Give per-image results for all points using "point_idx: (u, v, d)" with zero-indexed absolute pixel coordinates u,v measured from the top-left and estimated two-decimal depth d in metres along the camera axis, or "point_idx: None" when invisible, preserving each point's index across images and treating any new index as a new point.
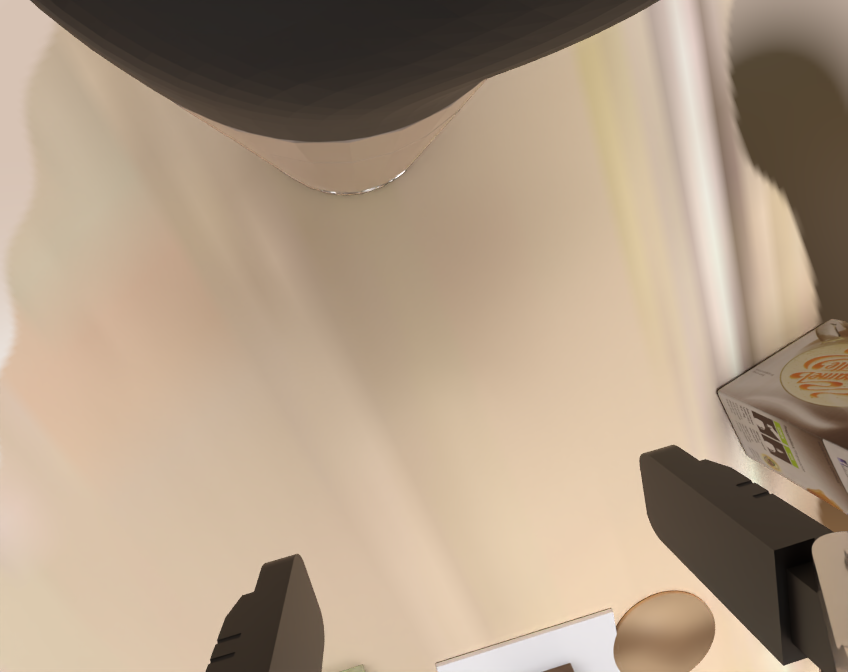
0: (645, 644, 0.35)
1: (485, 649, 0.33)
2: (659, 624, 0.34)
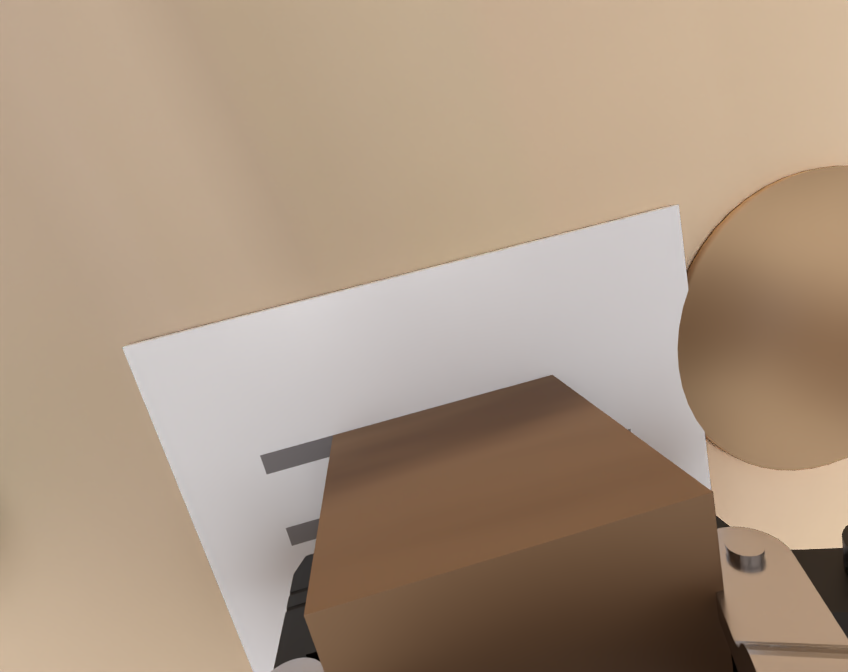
0: (769, 336, 0.12)
1: (286, 304, 0.11)
2: (810, 270, 0.12)
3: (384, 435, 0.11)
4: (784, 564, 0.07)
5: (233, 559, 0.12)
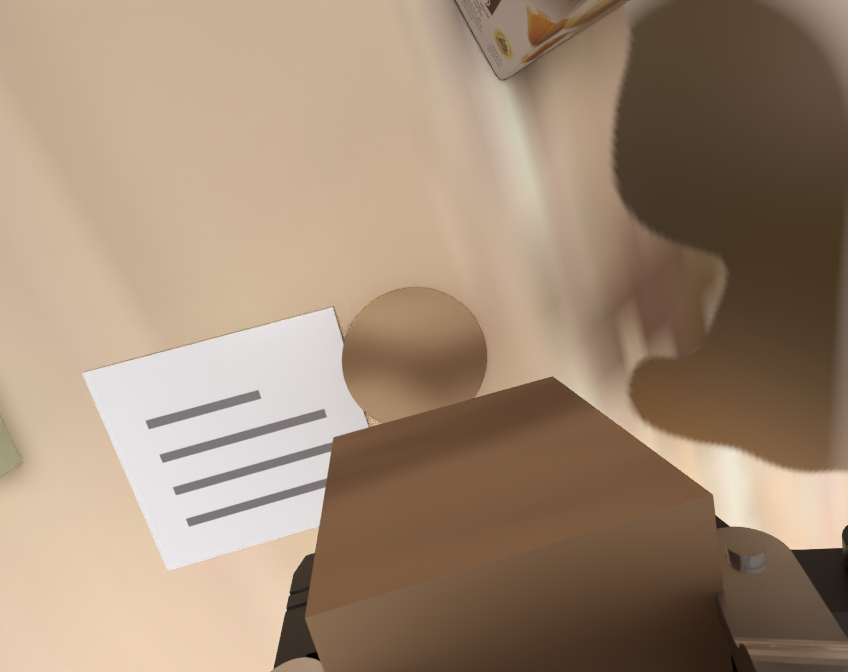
0: (388, 365, 0.26)
1: None
2: (404, 334, 0.26)
3: (385, 437, 0.11)
4: (784, 564, 0.07)
5: (135, 469, 0.25)
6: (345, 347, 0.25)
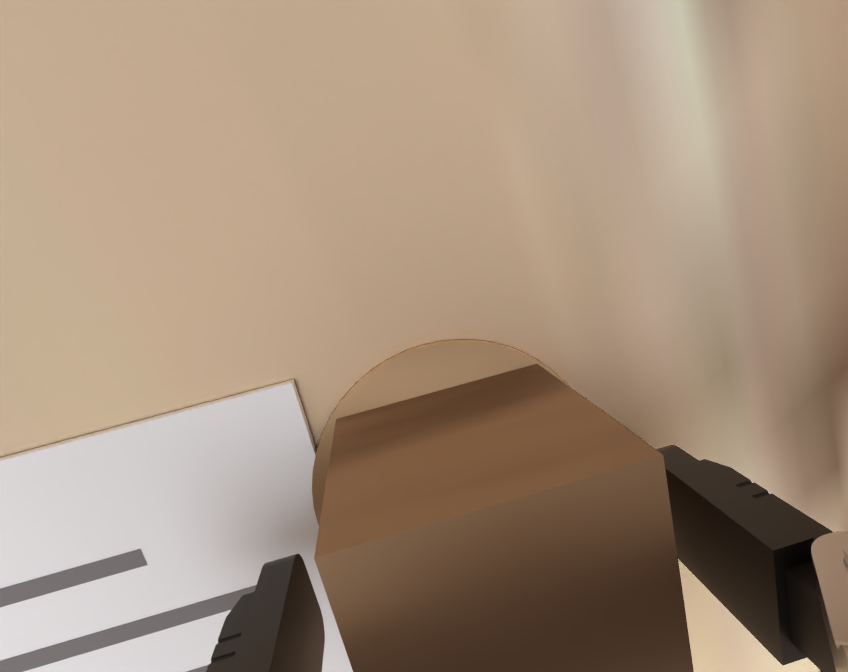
0: None
1: None
2: None
3: (383, 417, 0.12)
4: None
5: None
6: (319, 461, 0.12)
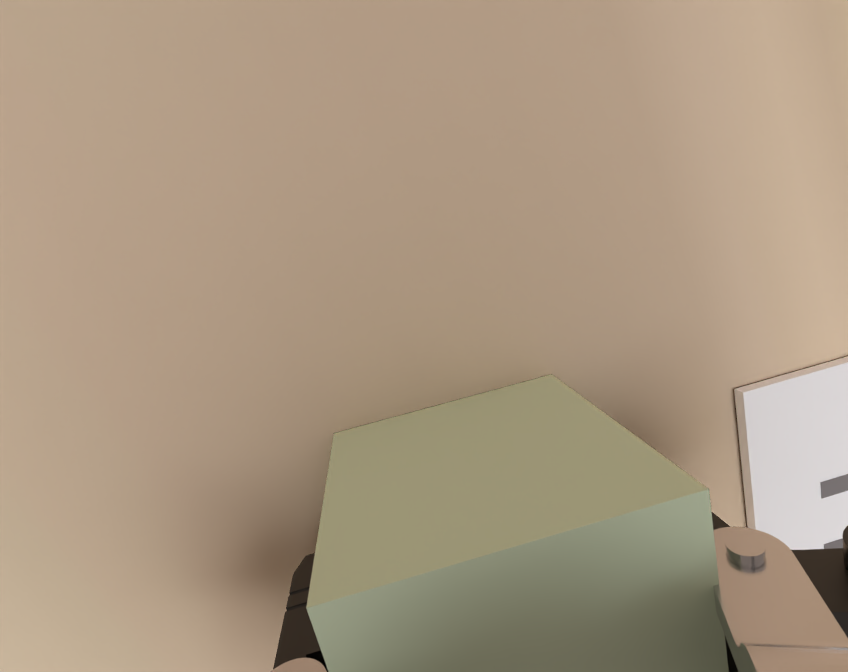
0: None
1: None
2: None
3: None
4: (784, 564, 0.07)
5: None
6: None
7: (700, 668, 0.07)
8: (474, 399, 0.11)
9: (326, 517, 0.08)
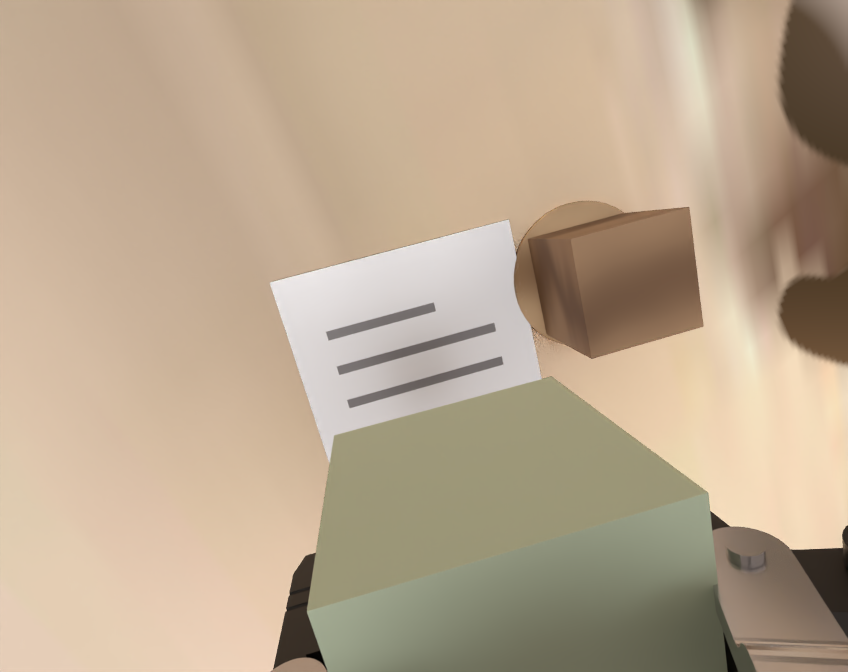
0: None
1: (337, 264, 0.25)
2: None
3: (554, 232, 0.25)
4: (784, 564, 0.07)
5: (313, 380, 0.26)
6: (518, 260, 0.26)
7: None
8: (473, 400, 0.11)
9: (326, 520, 0.08)
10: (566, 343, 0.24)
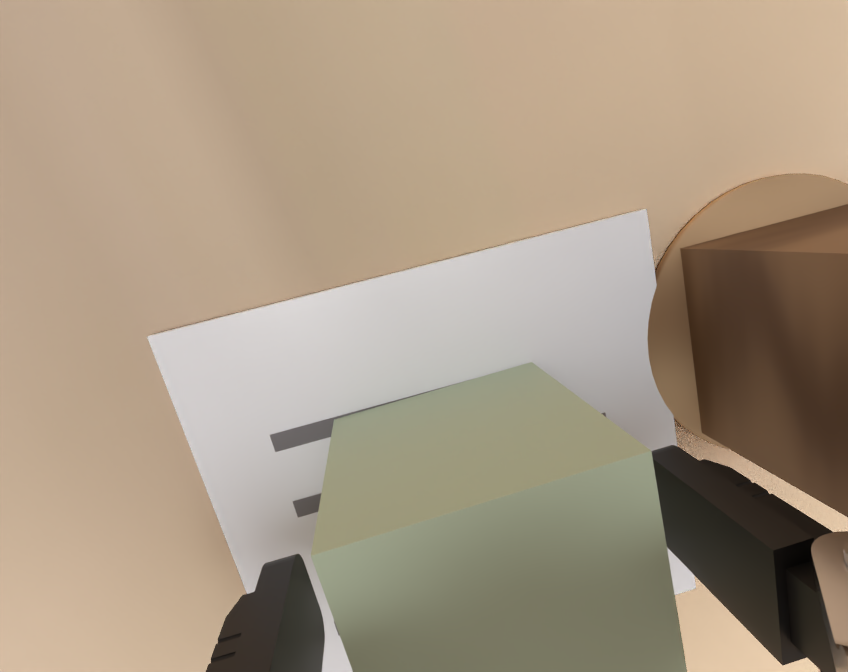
0: None
1: (293, 298, 0.12)
2: None
3: (745, 237, 0.12)
4: None
5: (245, 529, 0.13)
6: (659, 291, 0.13)
7: (652, 608, 0.08)
8: (460, 385, 0.12)
9: (327, 487, 0.09)
10: (782, 475, 0.11)
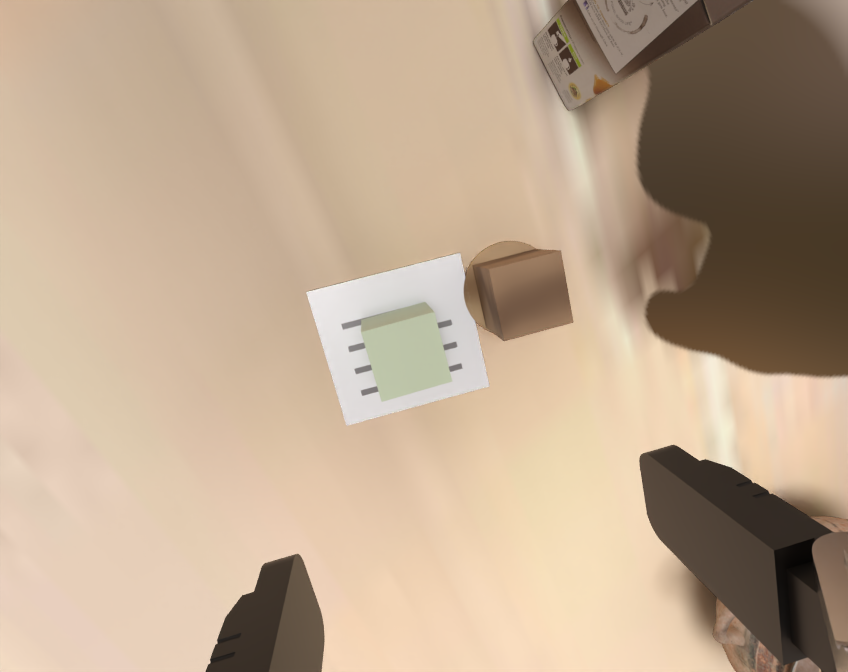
0: None
1: None
2: None
3: (488, 262, 0.39)
4: None
5: (332, 355, 0.40)
6: (466, 279, 0.40)
7: (438, 350, 0.35)
8: (401, 308, 0.39)
9: (362, 326, 0.36)
10: (494, 332, 0.38)
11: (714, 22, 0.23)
